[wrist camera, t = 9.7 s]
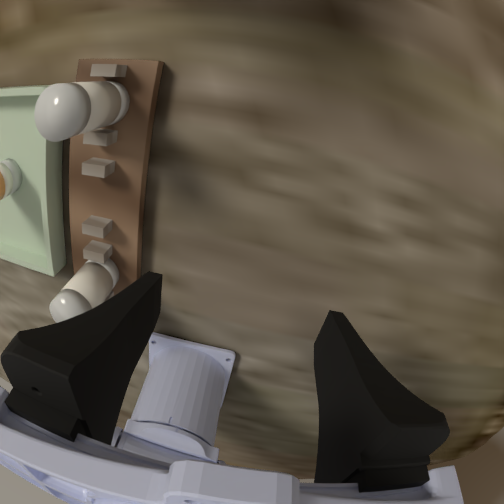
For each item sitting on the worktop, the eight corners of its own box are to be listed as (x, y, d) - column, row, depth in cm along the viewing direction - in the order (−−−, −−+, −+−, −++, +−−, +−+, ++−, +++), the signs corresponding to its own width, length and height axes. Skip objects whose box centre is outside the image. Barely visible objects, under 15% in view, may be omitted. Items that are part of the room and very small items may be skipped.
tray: (66, 263, 25) (54, 276, 23) (-13, 238, 25) (-25, 248, 23) (67, 84, 18) (50, 86, 16) (-20, 89, 17) (-37, 93, 15)
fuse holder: (140, 301, 26) (130, 320, 24) (81, 284, 26) (68, 300, 24) (163, 62, 17) (149, 59, 15) (86, 59, 17) (66, 58, 15)
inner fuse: (119, 290, 25) (88, 339, 19) (88, 281, 24) (53, 326, 19) (119, 259, 23) (83, 306, 18) (86, 250, 23) (46, 293, 18)
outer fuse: (126, 126, 18) (76, 144, 13) (88, 123, 18) (33, 139, 13) (132, 82, 17) (81, 83, 12) (93, 80, 17) (36, 84, 12)
